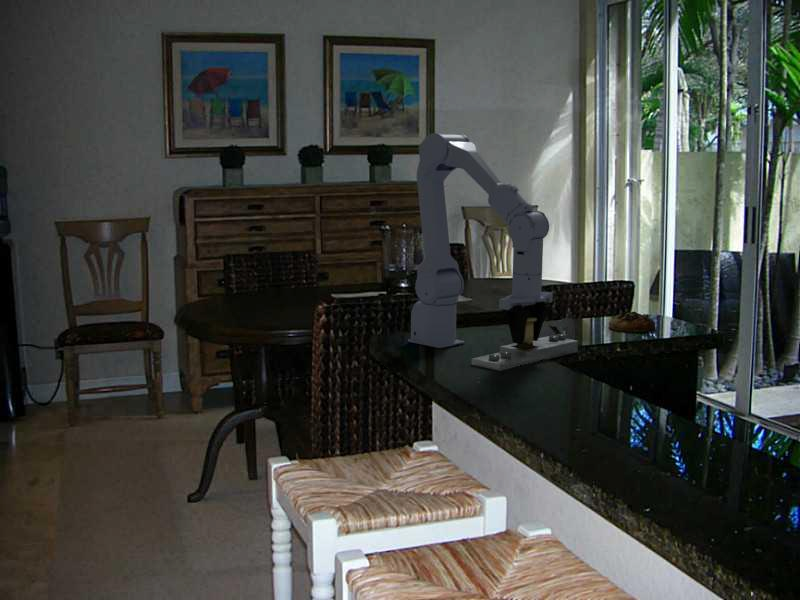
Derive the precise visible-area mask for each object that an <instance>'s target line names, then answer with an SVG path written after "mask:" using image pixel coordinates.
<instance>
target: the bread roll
mask: <svg viewBox="0 0 800 600" xmlns="http://www.w3.org/2000/svg"><path fill="white" fill-rule="evenodd" d="M608 327H609V328H610V329H612V330H613V331H615V332H620V333H638V334H639V333H643V332H644V333H645V332H647V333H649V332H650V333H651V332H654V331H655V329H656V323H655V321H654V320H653V319H652V318H651V317H649V316H648V315H647V314H645V315H644V314H642V313H638V312H636V311H631V312H627V313H624V312H622V313H620V314H617V315H615V316H613V317H612V318H611V319H610V320H609V321H608Z"/></svg>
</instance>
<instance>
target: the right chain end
mask: <svg viewBox="0 0 800 600" xmlns="http://www.w3.org/2000/svg"><path fill="white" fill-rule="evenodd" d="M578 346H579V340H575V339H572V340H571V339H566V335H565V333H557V334H555V335H549V336H544V337H539V338H538V341H533V349H528V350H525V349H520V348H517V343H510V344H506V345H500V346H499V352H500V353H501V352H510V353H511V355H515V356H520V357H525V358H530V357H535V356H539V355H543V354H547V353H550V359H549V360H551V359H555V358H557V357H559V358H560V357H563V356H566V355H567V356H568V355H570V354H571V355H572V354H575V353H578V348H579V347H578Z"/></svg>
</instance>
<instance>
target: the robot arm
mask: <svg viewBox="0 0 800 600" xmlns="http://www.w3.org/2000/svg"><path fill="white" fill-rule="evenodd" d="M418 154H419V160H418V166H417V170H416V183H417V193H418V202H419V203H418V204H419V211H420V213H419V215H420V225H421V233H422V243H423V245H422V246H423V254H424V257H423V260H422V261H421V263H419V265H418V266H417V268H416V273H417V274H416V275H417V276H416V280H415V284H414V285H415V286H414V287H415V288H414V289H415V293H416V295H417V297H418V298H419V299H420V300H418V301H416V302H415V303H414V304H413V306H412V309H411V314H410V339H407V341H408V342H409V343H413V344H418V345H423V346H426V347H427V346H428V347H432V348H437V349H442V348H448V347H451V346H457V344H458V345H462V344H461V343H463V344H465V341H464V340H459V339H457V302H459V297H460V296H461V294H463V291H464V288H465V286H464V285H465V282H464V281H465V280H464V278H463V276H462V273H461V272H460V268H459V263H458V262H457V260H456V259H454V257H453V256H452V255H451V248H450V247H451V246H450V236H449V235H450V234H449V225H448V215H447V206H446V194H445V193H446V191H445V184H444V182H445V180H446V179H447V177H448V176H449V175H450V174H451V173H452V172H453V171H455V170H456V169H462V170H464V172H465V173H467V174H468V176H469V177H470V178H472V179H473V180H474V181H475V182H476V184H477V185H479V187H480V188H482V190H483V191H484V192H486V193H487V195H488V197H487V198H488V199H487V200H488V201H487V203H488V205H489V206H490V207H491V208H492V209H493V211H494V212H495V213H496V214H497V215H498V216H499V217H500V219H501V220H503V222H504V223H505V224H506V225H507V233H508V235H509V238H510V239H511V242H512V249H513V250H512V251H513V252H512V253H513V255H512V289H511V290H512V291H511V295H508V296H505V297H503V298H499V299H498V303H499V304H498V305H499V306H498V309H500V310H501V312H502V314H503V316H504V317H505V319H506V321H507V324H508V326H509V332H510V334H511V339H512V344H514V343H517V344H523V342H524V336H525V327H526V322H527V319H528V316H529V315H534V316H537V321H535V322H534V337H533V341H538V338H540V335H541V331H542V327H543V324H544V321H545V319H546V317H547V315H548V314H549V313H550V311H551V305H550V304H551V303H553V297H554V295H553V292H549V291H542V285H543V255H544V254H543V253H544V239H545V238H546V237H547V236H548V233H549V232H550V222H549V219H548V218H547V216H546V214H545V213H544V212H543V211H541V210H534V209H533V208H534V206H533V205H532V204H531V203H528V202H527V201H526V200H525V198H523V197H522V195H520V193H519V192H518V191H519V187H517V186H516V185H511V183H509V182H508V183H505V182H504V183H502V182H501V180H499V178H498V177H497V176H496V174H495V173H494V171H493V170H492V169H491V168H490V166H489V165H488V164H487V162H485V160H484V159H483V157H482V156H481V154H479V152H478V149H477V147H476V144H474V143H473V142H472V141H470V138H469V137H468V136H466V135H465V134H463V133H454V134H451V133H450V134H449V133H438V132H433V133H429V134H427V135H426V136H425V138H424V139H422V141H421V143H419V145H418ZM546 303H550V304H546Z"/></svg>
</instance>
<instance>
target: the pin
mask: <svg viewBox="0 0 800 600" xmlns="http://www.w3.org/2000/svg"><path fill="white" fill-rule="evenodd" d="M535 321H537V316H534V315H529V316H528V319H527V322H526V327H525V336H524V342H523V344H517V348H520V349H525V350H528V349H533V337H534V322H535Z"/></svg>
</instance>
